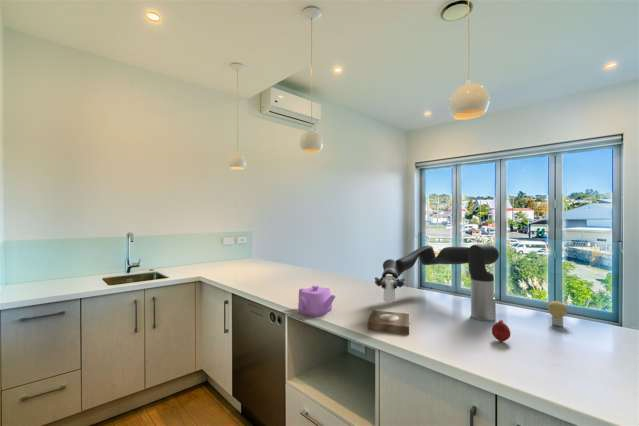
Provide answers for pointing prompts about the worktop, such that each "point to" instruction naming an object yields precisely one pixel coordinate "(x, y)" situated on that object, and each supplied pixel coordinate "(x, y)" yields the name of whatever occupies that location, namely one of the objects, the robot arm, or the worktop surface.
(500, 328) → the onion
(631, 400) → the worktop surface
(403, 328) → the walnut plinth
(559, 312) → the light bulb
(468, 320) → the worktop surface
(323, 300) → the teakettle
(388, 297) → the pepper shaker
